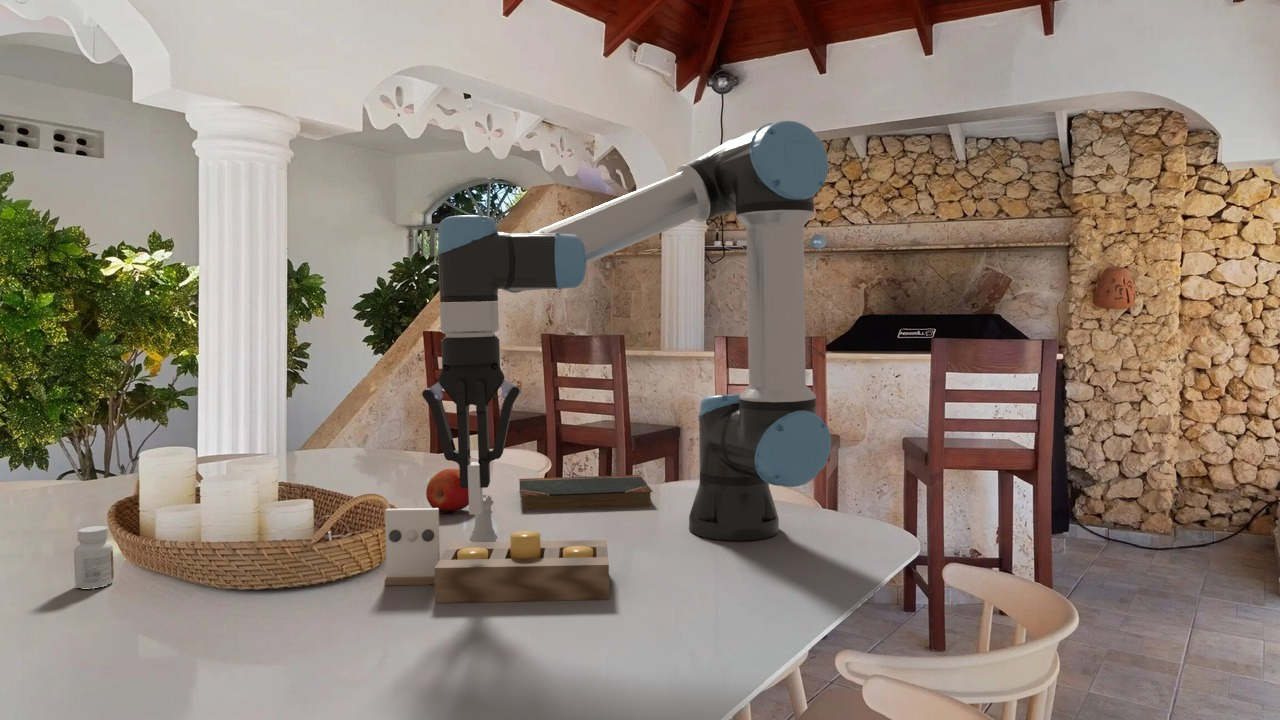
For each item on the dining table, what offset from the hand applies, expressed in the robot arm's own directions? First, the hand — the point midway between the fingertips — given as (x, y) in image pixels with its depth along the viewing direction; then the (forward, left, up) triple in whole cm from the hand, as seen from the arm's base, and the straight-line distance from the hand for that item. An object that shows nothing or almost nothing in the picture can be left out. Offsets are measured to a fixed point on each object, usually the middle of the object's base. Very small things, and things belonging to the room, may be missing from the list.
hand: (476, 511), depth 114 cm
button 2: (-13, 0, -10) cm, 16 cm away
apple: (+11, -44, -10) cm, 46 cm away
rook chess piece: (+2, -20, -10) cm, 22 cm away
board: (-6, 0, -10) cm, 12 cm away
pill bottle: (+52, -4, -10) cm, 53 cm away
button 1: (+1, 0, -10) cm, 10 cm away
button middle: (-6, 0, -7) cm, 10 cm away
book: (-14, -54, -11) cm, 57 cm away
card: (+9, -3, -10) cm, 14 cm away
